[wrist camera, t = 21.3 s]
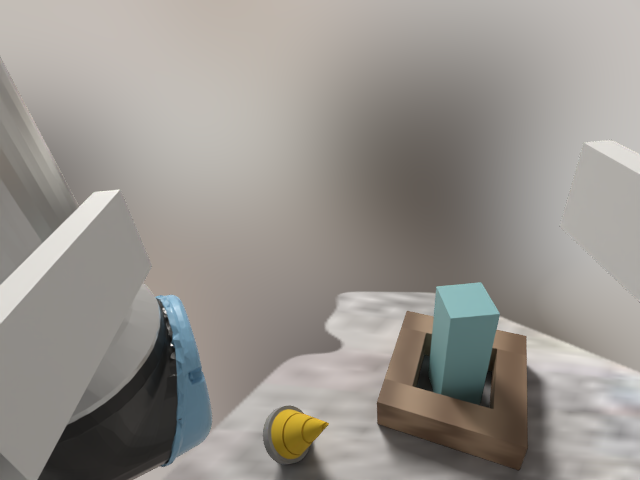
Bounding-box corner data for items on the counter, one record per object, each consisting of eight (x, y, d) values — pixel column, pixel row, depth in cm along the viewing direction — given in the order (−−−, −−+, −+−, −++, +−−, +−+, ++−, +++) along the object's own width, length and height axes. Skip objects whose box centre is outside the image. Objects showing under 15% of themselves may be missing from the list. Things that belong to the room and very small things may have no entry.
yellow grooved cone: (290, 412, 45) (346, 394, 39) (292, 465, 42) (353, 455, 36) (249, 411, 42) (302, 391, 36) (248, 468, 39) (306, 458, 33)
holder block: (377, 423, 43) (377, 401, 40) (406, 332, 53) (406, 310, 51) (519, 470, 37) (527, 448, 35) (519, 358, 48) (526, 336, 46)
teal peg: (439, 409, 43) (450, 318, 36) (428, 375, 47) (436, 286, 39) (479, 405, 43) (499, 313, 36) (465, 372, 47) (481, 282, 39)
